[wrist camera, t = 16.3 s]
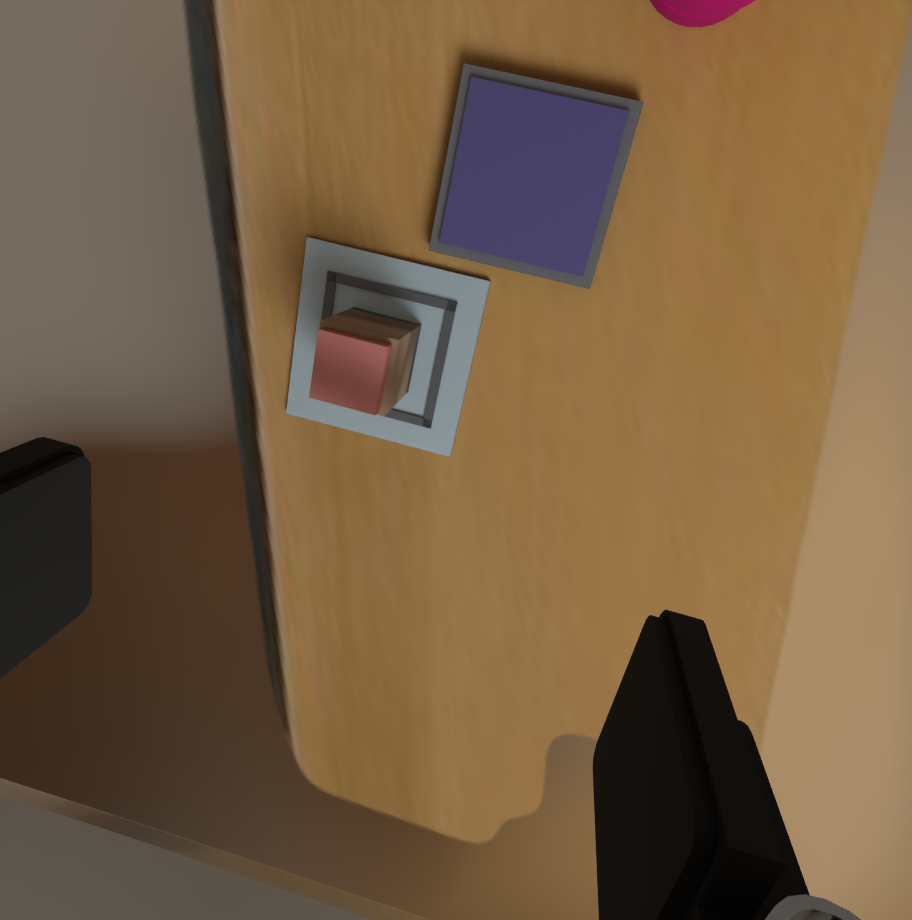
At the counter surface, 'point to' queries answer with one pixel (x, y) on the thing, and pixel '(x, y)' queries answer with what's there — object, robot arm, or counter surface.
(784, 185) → the counter surface
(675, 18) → the pepper mill
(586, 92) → the ink pad
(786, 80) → the counter surface
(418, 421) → the light grey flat square
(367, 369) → the stamp
